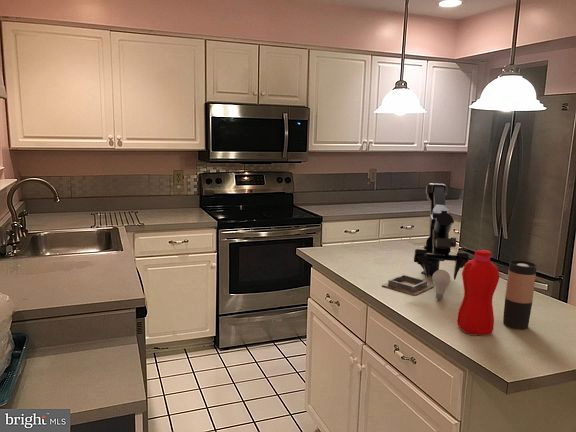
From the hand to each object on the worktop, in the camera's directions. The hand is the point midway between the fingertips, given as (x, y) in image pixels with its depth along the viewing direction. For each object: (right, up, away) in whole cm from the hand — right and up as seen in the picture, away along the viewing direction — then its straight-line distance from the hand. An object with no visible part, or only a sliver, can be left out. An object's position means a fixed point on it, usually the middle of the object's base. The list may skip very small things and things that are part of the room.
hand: (441, 278), depth 169 cm
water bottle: (+2, -13, -23) cm, 26 cm away
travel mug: (+17, -12, -19) cm, 28 cm away
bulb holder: (-8, -5, +14) cm, 17 cm away
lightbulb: (0, -8, +1) cm, 8 cm away
